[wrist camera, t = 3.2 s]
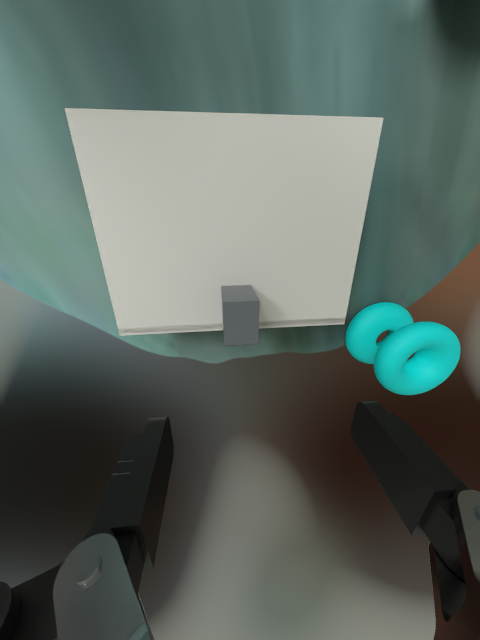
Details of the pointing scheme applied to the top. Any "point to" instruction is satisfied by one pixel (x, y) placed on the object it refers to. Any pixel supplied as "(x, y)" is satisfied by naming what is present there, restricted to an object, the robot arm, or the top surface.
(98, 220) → the lid
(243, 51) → the top surface
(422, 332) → the donuts
